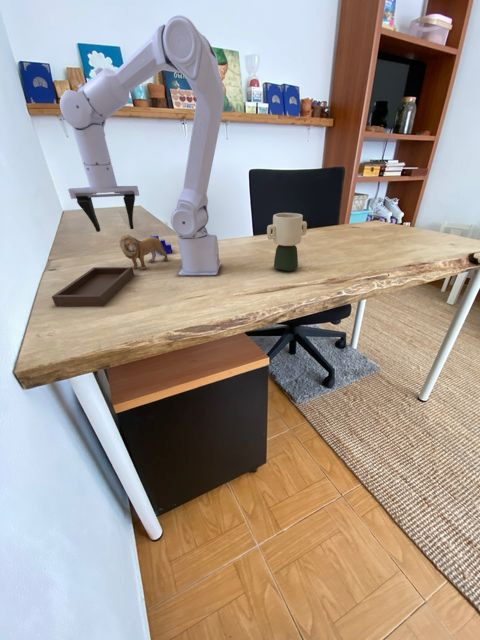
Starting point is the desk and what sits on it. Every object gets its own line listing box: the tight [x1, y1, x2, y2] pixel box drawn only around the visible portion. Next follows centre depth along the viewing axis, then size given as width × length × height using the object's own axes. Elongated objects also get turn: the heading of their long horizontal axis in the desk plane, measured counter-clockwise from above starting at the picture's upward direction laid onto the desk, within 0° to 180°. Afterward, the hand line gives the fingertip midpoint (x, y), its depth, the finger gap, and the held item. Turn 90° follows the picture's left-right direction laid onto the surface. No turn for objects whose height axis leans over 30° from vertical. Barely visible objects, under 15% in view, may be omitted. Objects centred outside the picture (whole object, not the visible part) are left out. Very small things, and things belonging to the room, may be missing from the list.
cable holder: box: [150, 234, 173, 256], centre depth 90 cm, size 8×4×4 cm, turn 34°
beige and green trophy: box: [266, 212, 308, 272], centre depth 73 cm, size 11×7×13 cm, turn 115°
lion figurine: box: [118, 234, 169, 271], centre depth 77 cm, size 15×5×9 cm, turn 159°
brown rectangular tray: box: [51, 266, 135, 307], centre depth 66 cm, size 10×18×2 cm, turn 0°
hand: (115, 229), depth 73 cm, fingers open, 7 cm apart
